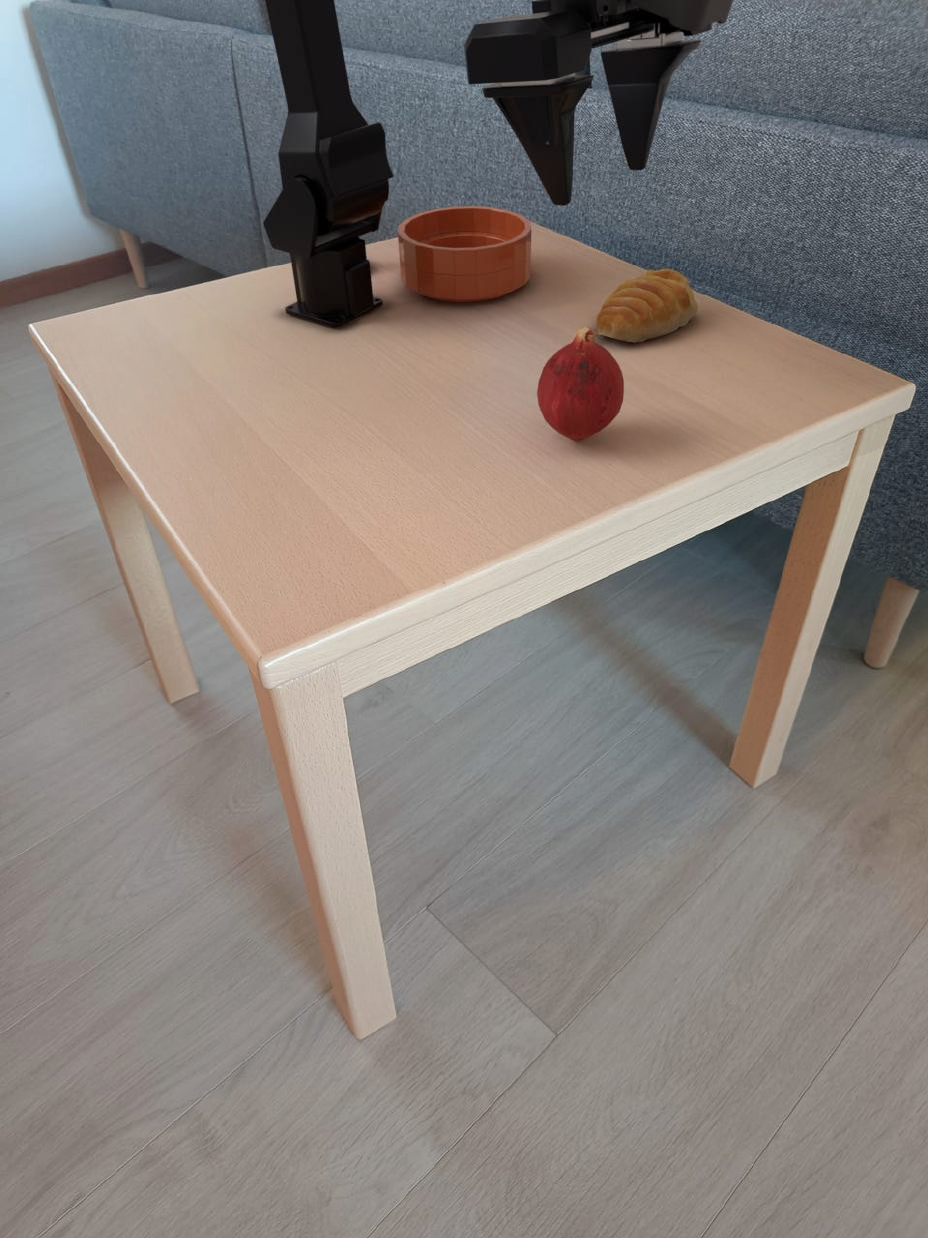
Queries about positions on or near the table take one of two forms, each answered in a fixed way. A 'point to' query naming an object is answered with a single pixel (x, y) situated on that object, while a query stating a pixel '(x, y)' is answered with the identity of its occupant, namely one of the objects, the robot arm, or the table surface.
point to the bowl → (465, 253)
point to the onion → (580, 388)
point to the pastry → (647, 307)
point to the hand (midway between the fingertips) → (601, 186)
